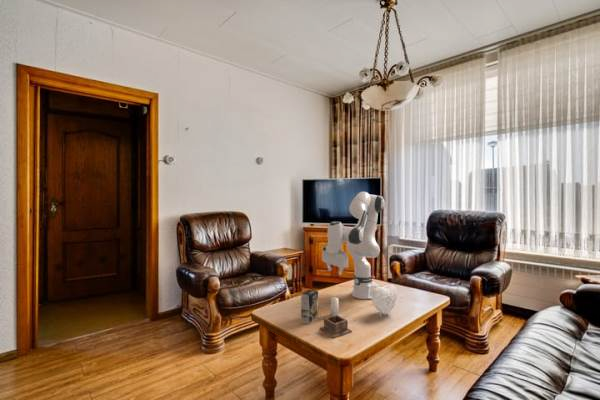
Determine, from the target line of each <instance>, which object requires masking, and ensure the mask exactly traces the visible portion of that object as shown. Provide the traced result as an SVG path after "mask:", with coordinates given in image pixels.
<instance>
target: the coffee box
mask: <svg viewBox="0 0 600 400" xmlns="http://www.w3.org/2000/svg"><path fill="white" fill-rule="evenodd" d="M300 295H301V296H300V298H301V302H300V322H302V323H305V324H308V325H311V324H312V323H314V322H315V321H317V319H318V318H319V291H318V290H313V289H307V290H305V291H303V292H302V293H301V294H300ZM318 320H319V319H318Z"/></svg>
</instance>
